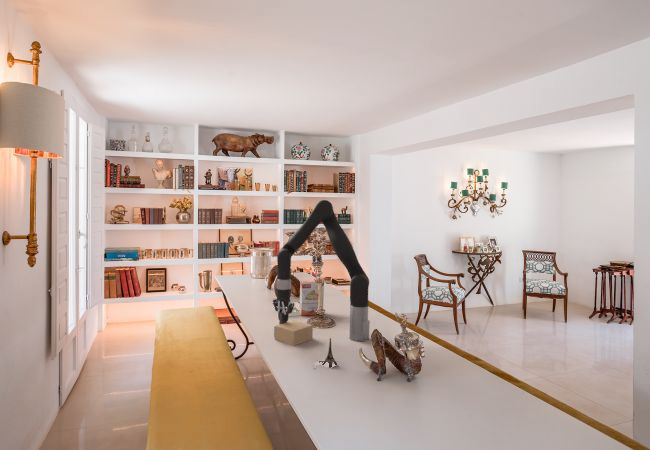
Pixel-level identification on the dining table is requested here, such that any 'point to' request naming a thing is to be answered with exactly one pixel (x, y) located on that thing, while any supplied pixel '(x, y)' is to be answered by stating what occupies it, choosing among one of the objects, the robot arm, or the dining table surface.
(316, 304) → the cracker box
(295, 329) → the mailer sleeve
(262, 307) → the dining table surface
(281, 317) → the tray
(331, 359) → the eiffel tower figurine
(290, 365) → the dining table surface
